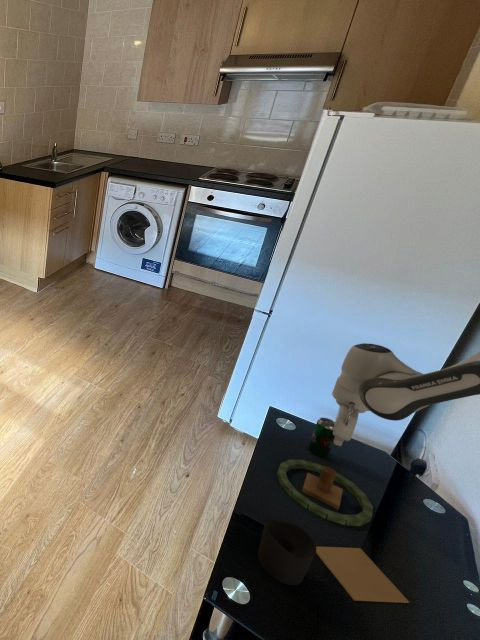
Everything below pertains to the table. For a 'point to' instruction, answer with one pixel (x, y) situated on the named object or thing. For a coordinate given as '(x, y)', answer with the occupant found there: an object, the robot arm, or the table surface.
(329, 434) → the soda can
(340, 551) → the mat
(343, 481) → the ring
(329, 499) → the peg stand
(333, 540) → the table surface
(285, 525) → the pen holder
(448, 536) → the table surface
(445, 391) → the robot arm
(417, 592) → the table surface
